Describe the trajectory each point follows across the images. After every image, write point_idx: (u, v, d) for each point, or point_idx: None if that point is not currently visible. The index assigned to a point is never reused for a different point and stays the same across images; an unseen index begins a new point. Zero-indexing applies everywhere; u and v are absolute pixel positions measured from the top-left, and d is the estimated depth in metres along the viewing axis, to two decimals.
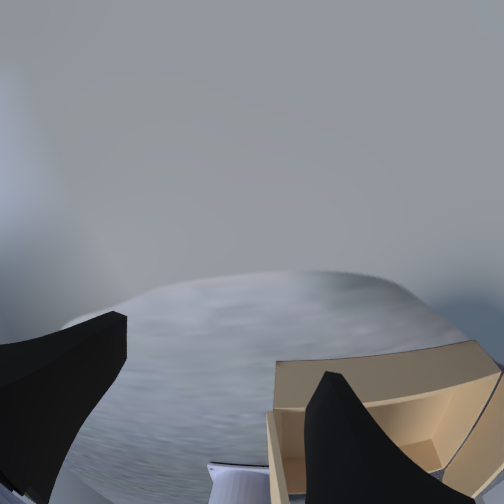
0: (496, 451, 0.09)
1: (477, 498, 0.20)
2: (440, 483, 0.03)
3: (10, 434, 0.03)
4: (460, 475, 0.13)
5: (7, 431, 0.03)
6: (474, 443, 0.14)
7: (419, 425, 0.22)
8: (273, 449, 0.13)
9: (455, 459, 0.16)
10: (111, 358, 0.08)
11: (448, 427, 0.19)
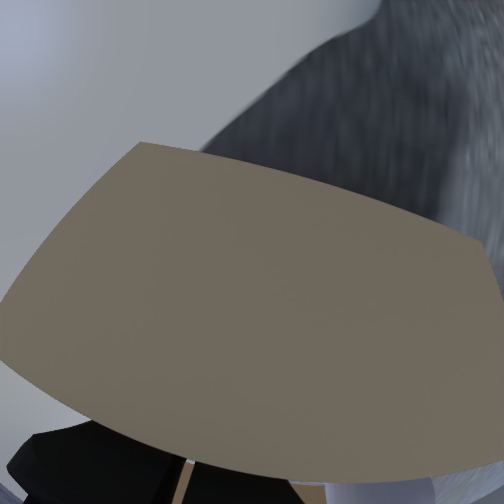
0: None
1: None
2: (289, 490, 0.04)
3: None
4: None
5: None
6: None
7: None
8: None
9: None
10: None
11: None
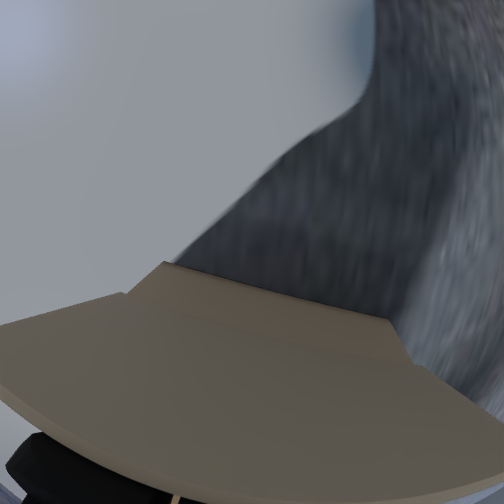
0: None
1: None
2: None
3: None
4: None
5: None
6: None
7: None
8: None
9: None
10: None
11: None
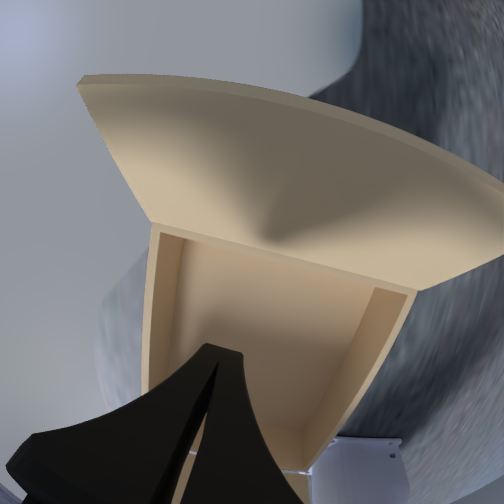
0: (138, 132, 0.07)
1: None
2: (288, 490, 0.04)
3: None
4: (356, 227, 0.09)
5: None
6: (278, 231, 0.11)
7: (323, 292, 0.19)
8: None
9: (376, 274, 0.12)
10: (209, 393, 0.08)
11: None
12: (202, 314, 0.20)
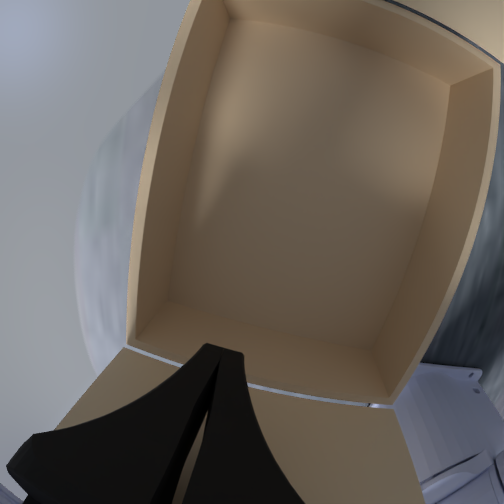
0: None
1: None
2: (289, 490, 0.04)
3: None
4: None
5: None
6: None
7: (394, 102, 0.12)
8: None
9: (458, 20, 0.06)
10: (210, 393, 0.08)
11: (400, 46, 0.10)
12: (238, 130, 0.14)
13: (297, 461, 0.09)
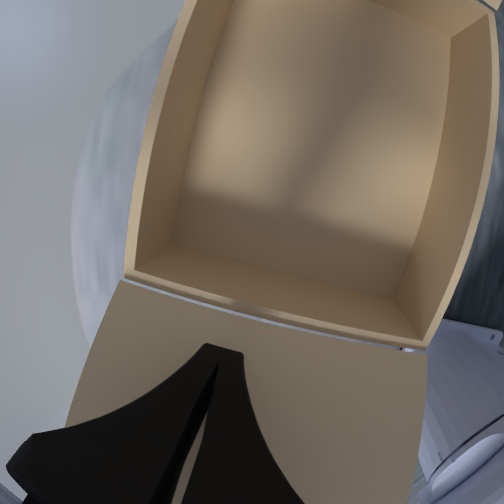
0: None
1: None
2: (288, 490, 0.04)
3: None
4: None
5: None
6: None
7: (400, 47, 0.11)
8: None
9: None
10: (210, 393, 0.08)
11: None
12: (252, 65, 0.13)
13: (304, 430, 0.09)
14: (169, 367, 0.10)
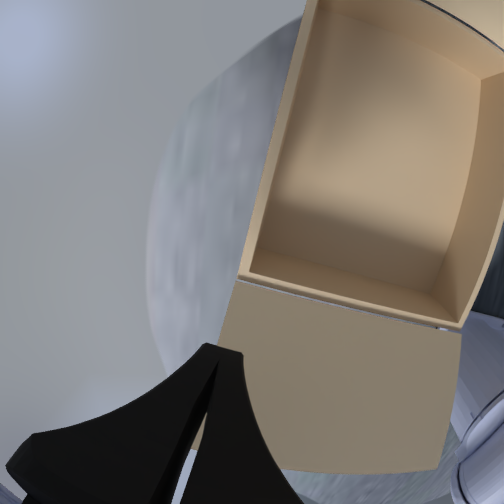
0: None
1: None
2: (288, 490, 0.04)
3: None
4: None
5: None
6: None
7: (443, 89, 0.14)
8: (218, 342, 0.13)
9: (494, 32, 0.08)
10: (209, 393, 0.08)
11: (449, 47, 0.11)
12: (331, 98, 0.15)
13: (382, 391, 0.12)
14: (288, 352, 0.13)
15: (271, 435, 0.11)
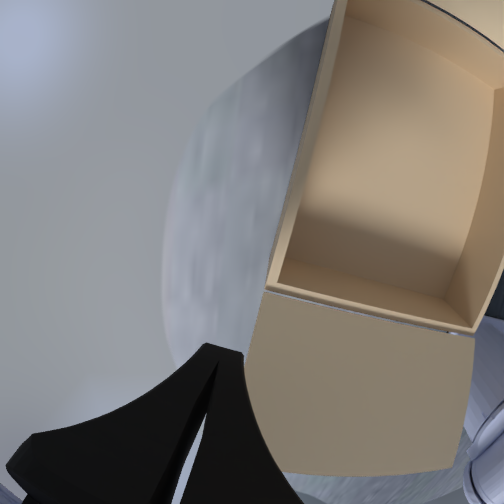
0: None
1: None
2: (288, 490, 0.04)
3: None
4: None
5: None
6: None
7: (459, 99, 0.14)
8: None
9: None
10: (209, 393, 0.08)
11: (467, 58, 0.11)
12: (353, 106, 0.15)
13: (404, 396, 0.12)
14: (317, 361, 0.13)
15: (301, 443, 0.11)
